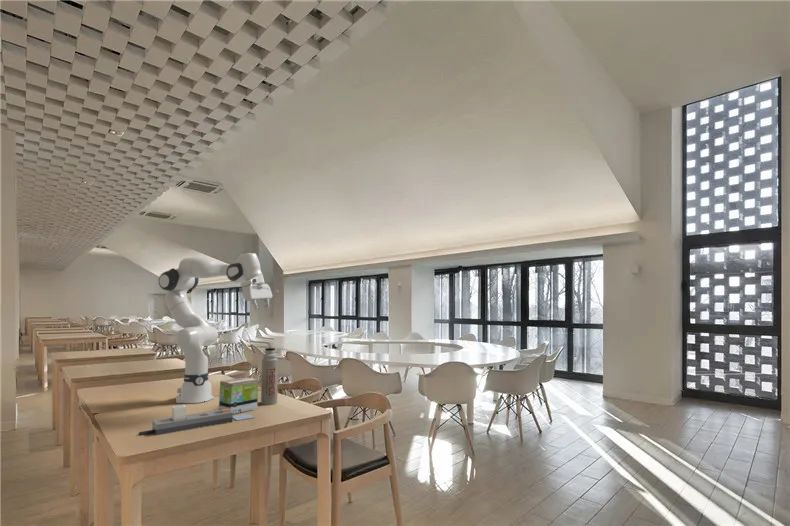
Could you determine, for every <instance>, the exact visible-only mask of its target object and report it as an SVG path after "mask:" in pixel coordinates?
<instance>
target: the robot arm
mask: <svg viewBox="0 0 790 526" xmlns="http://www.w3.org/2000/svg"><path fill="white" fill-rule="evenodd" d="M217 277H227V279H228V280H229V281H231V282H237V283H239V282H240V287H241V288H242V289H241V290H242V296H243V298H244V300H245V301H246V302H250V303H251V304H252V306H253V309H254V310H258V309H259V308H260V307H259V304H258V303H257V301H263V302H264V308H265V309H268V308H270V300H271V299H273V292H272V290H271V287H270V285H269V284H268V283H267V282H265V279H264V275H263V272H262V269H261V263H260V260H259V257H258V255H257V253H255V252H253V251H245V252H241V253H240V254H239V257H238V258H237V259H236V260H235V261H234V262H233V263H232V262H231V263H223V262H219V261H216V260H212V259H208V258H205V257H204V258H203V257H198V256H197V257H195V256H193V257H191V256H190V257H186V258H183V259H182V260H180V261H179V264H178V267H177V268H174V267H173V268H171V269H169V270H166V271H164V272H162V273H161V274H159V277H158V285H159V287H160V289H162V290H165V291H167V293H165V296H164V301H165V305H166V306H167V309H168V311H169V312H170V314H171V316H172V318H173V320H174V321H175V323H176V325H178V326H179V327H181V329H179V330H178V331H177V332H176V334H175V343H176V345H177V346H178V347H179V348H180V349H181V351H182V353H183V355H184V361H185V362H184V364H185V365H184V366H185V367H184V368H185V369H184V370H185V371H184V374H183V382H182V384H181V385H180V387H179V388H177V392H176V393H177V394H178V395H175V403H176V404H198V403H203V402H204V401H205V402H208V401H210V400H212V399H215V396H214V395H212V383H211V382H210V381H209V376H210V374H209V372H208V371H209V369H208V368H209V358H208V355H205V353H204V351H203V348H202V347H207V346H210V345H212V344H214V343H216V342H217V340H218V338H219V333H218V330H217V328H216V327H214V326H212V325H210V324H209V323H208V322H207V321H205V320H204V319H203V318H202V317H201V316H200V315H199V314H198V313H197V310H195V308H194V306H193V304H192V303H191V302H190V300H189V298H188V297H187V295H188V294H191V293H192V291H193V290H194V289H196V287H197V286H198V284H199V281H200V280H199V279H210V278H217Z"/></svg>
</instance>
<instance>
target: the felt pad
mask: <svg viewBox="0 0 790 526" xmlns="http://www.w3.org/2000/svg"><path fill="white" fill-rule="evenodd" d="M255 417H256V416H253V415H252V414H250V413H244V414H240V415H239V414H237V415H233V420H234V419H235V420H234V421H236V420H237V421H236V422H239V421H238V420H241V421H245V419H247V420H252V419H251V418H253V419H255Z"/></svg>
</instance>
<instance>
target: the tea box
mask: <svg viewBox="0 0 790 526" xmlns="http://www.w3.org/2000/svg"><path fill="white" fill-rule="evenodd" d="M258 389H259V379H258V378H257V379H256V378H253V377H239V378H235V379H226V380H220V382H219V398H218V399H219V403H218V410H223V409H230V411H231V412H232V413H233V415H236V414H241V413H246V412H250V410H251V411H256V410H257V409H258V400H259V399H258V397H259V396H258V395H259V394H258V392H259V390H258ZM255 409H256V410H255ZM240 412H241V413H240Z"/></svg>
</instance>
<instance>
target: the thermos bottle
mask: <svg viewBox="0 0 790 526" xmlns="http://www.w3.org/2000/svg"><path fill="white" fill-rule="evenodd" d="M264 351H265V352H264V354H263V358H262V359H261V388H260V389H261V393H260V394H261V395H260V396H261V397H260V404H261V405H263V406H264V405H265V406H269V405H270V406H271V404H272V405H275V404H277V403H278V383H279V382H278V372H279V370H278V367H279V360H278V358H277V357H278V355H277V353H276V348H275V347H267V348H266V347H265V349H264Z"/></svg>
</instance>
